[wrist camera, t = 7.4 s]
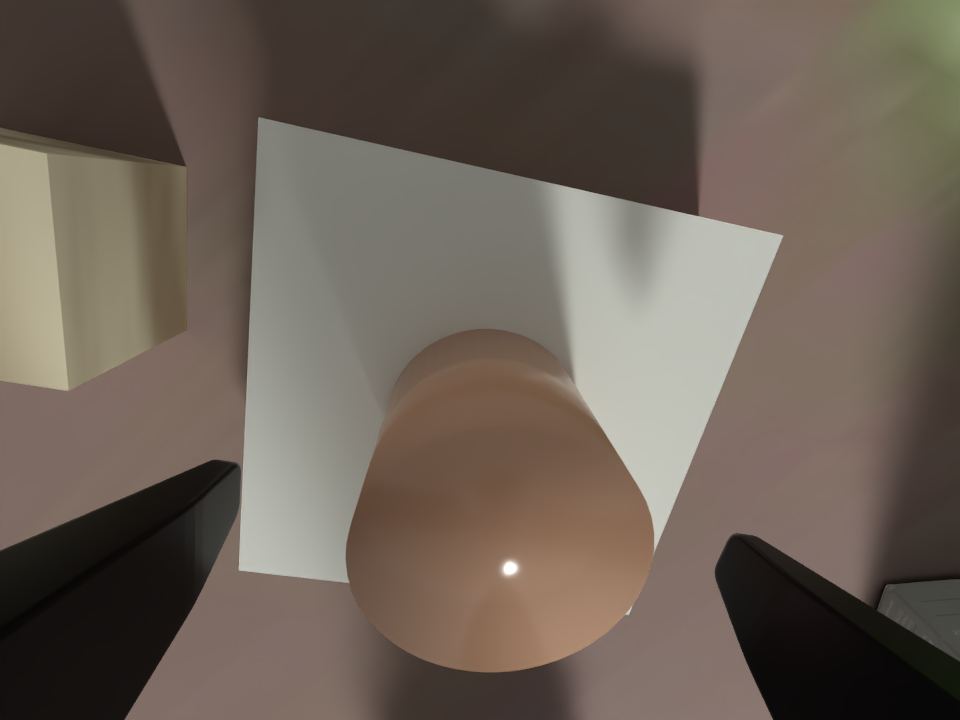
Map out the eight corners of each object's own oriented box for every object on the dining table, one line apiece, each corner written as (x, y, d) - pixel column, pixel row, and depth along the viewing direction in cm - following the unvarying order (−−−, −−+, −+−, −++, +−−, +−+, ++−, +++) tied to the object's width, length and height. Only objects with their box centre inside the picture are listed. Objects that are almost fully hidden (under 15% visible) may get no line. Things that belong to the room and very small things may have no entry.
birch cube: (187, 166, 14) (46, 153, 9) (187, 329, 15) (68, 391, 10) (-1, 127, 13) (-260, 90, 8) (20, 300, 15) (-186, 352, 10)
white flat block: (699, 224, 15) (783, 235, 11) (593, 529, 19) (628, 614, 15) (313, 138, 13) (258, 117, 10) (285, 487, 17) (238, 570, 13)
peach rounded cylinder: (601, 348, 12) (698, 452, 7) (551, 510, 13) (603, 684, 9) (403, 311, 11) (365, 398, 6) (376, 486, 13) (330, 657, 8)
